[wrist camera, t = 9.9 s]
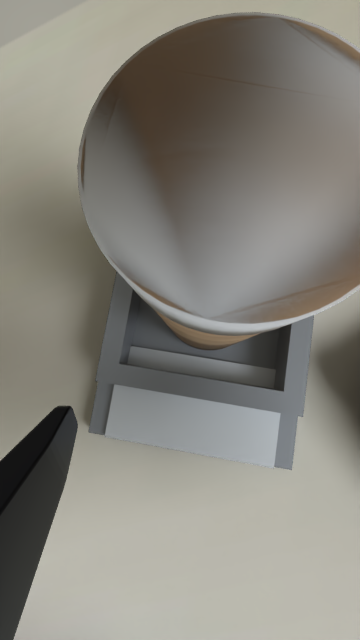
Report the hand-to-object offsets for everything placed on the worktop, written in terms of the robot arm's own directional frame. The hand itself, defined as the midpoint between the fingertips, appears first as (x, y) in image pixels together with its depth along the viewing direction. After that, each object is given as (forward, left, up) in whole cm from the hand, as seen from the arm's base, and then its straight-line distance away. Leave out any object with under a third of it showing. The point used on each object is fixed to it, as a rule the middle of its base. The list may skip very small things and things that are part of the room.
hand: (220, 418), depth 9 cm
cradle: (+5, +1, -9) cm, 10 cm away
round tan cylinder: (+5, +1, -8) cm, 9 cm away
